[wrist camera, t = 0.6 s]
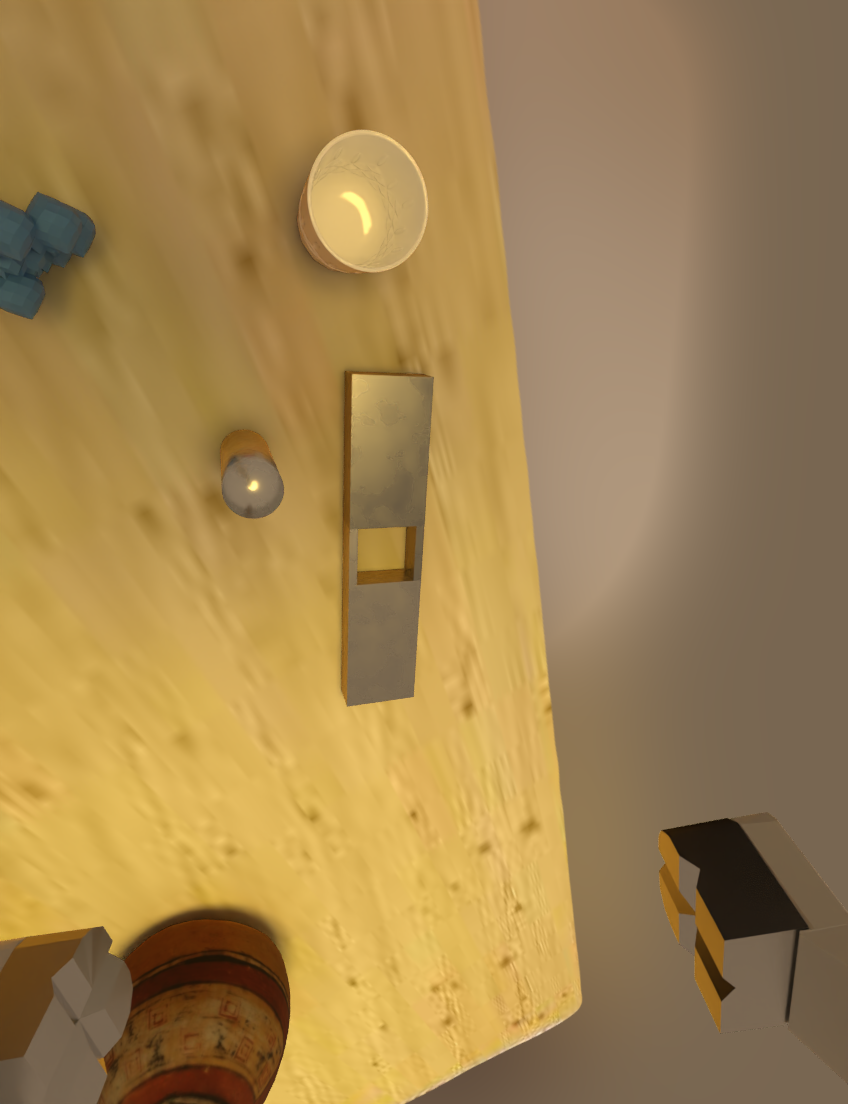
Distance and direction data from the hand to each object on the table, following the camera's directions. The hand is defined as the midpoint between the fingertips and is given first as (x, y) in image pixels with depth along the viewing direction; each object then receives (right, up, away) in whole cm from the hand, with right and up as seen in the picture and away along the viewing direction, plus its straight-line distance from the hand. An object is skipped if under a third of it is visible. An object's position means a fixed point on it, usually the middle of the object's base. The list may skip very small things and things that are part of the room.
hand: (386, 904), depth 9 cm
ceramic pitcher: (-26, -43, +60) cm, 78 cm away
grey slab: (-4, +6, +48) cm, 49 cm away
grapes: (-27, +25, +33) cm, 49 cm away
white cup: (-6, +31, +38) cm, 49 cm away
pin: (-15, +14, +41) cm, 46 cm away
